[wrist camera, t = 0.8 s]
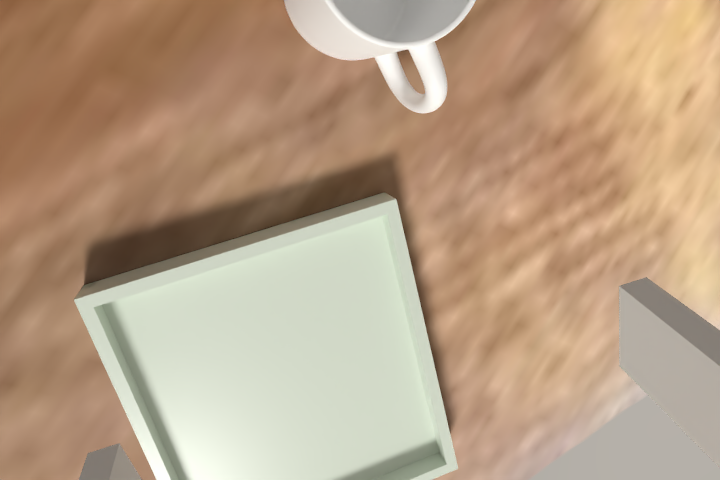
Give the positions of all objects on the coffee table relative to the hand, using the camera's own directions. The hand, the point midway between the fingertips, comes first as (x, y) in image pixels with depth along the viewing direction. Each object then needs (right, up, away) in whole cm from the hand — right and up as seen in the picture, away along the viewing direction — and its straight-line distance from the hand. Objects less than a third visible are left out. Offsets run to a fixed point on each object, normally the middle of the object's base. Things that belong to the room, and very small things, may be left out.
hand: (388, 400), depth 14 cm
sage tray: (-6, -6, +24) cm, 26 cm away
